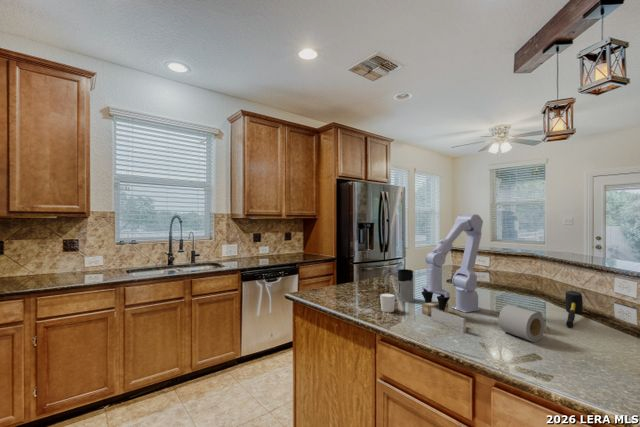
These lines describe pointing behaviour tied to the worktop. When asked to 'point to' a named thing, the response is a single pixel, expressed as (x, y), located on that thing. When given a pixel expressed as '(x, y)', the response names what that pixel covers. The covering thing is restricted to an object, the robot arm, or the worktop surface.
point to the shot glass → (387, 302)
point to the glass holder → (404, 285)
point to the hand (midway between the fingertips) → (435, 309)
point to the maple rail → (427, 307)
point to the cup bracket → (448, 319)
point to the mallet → (573, 306)
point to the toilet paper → (522, 323)
